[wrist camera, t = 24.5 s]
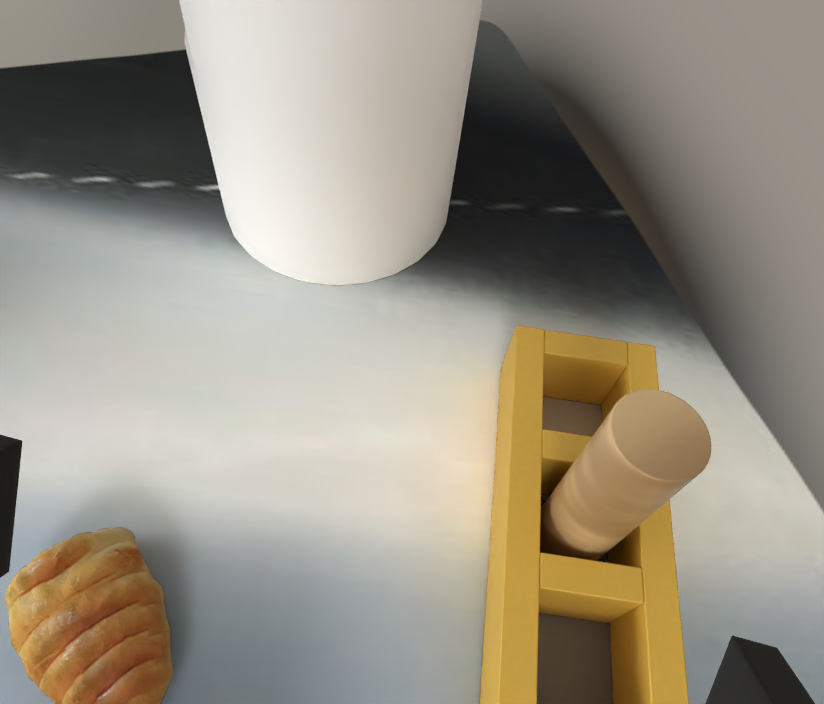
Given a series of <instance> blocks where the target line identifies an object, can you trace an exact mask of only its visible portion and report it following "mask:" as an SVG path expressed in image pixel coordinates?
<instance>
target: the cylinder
mask: <svg viewBox="0 0 824 704" xmlns="http://www.w3.org/2000/svg"><path fill="white" fill-rule="evenodd" d="M179 3H180V7H181V11H182V15H183V20H184V24H185V41H184V42H185V46H186V51H187V55H188V59H189V63H190V68H191V72H192V76H193V80H194V84H195V88H196V93H197V97H198V101H199V105H200V109H201V113H202V118H203V122H204V126H205V130H206V134H207V138H208V143H209V147H210V151H211V155H212V159H213V164H214V168H215V172H216V176H217V180H218V184H219V189H220V193H221V197H222V201H223V205H224V209H225V214H226V217H227V220H228V222H229V225H230V227H231V230H232V232H233V235H234V237H235V238H236V240H237V241H238V242H239V243H240V244H241V245H242V247H243V248H244V249H245V250H246V251H247V252H248V254H249V255H250V256H251V257H253V258H254V259H256V260H258V261H259V262H261V263H262V264H264V265H265V266H267V267H268V268H270V269H271V270H273V271H275V272H277V273H280V274H283V275H286V276H289V277H291V278H294V279H297V280H300V281H303V282H311V283H319V284H327V285H346V284H359V283H367V282H371V281H374V280H378V279H381V278H384V277H388V276H391V275H394V274H396V273H398V272H400V271H402V270H403V269H405V268H407V267H409V266H410V265H412V264H414V263H416V262H417V261H419V260H420V259H421V258H422V257H423V256H424V255H425V254H426V253H427V252H428V251H429V250H430V249H431V248H432V247H433V246H434V245H435V244H436V242H437V240H438V238H439V236H440V234H441V232H442V230H443V228H444V226H445V224H446V220H447V214H448V208H449V202H450V196H451V190H452V184H453V178H454V171H455V165H456V159H457V153H458V147H459V141H460V135H461V129H462V123H463V117H464V110H465V104H466V98H467V92H468V86H469V80H470V74H471V68H472V62H473V55H474V49H475V43H476V37H477V31H478V25H479V19H480V13H481V6H482V0H179Z"/></svg>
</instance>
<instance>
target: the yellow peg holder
mask: <svg viewBox="0 0 824 704" xmlns="http://www.w3.org/2000/svg"><path fill="white" fill-rule="evenodd" d="M645 389H652V390H659V385H658V375H657V364H656V354H655V346H651V345H644V344H637V343H631V342H627V343H626V342H624V341H617V340H610V339H603V338H597V337H590V336H583V335H577V334H570V333H563V332H556V331H550V330H545V331H544V329H538V328H531V327H524V326H516V329H515V331H514V334H513V337H512V340H511V342H510V345H509V348H508V351H507V353H506V356H505V359H504V362H503V364H502V367H501V376H500V392H499V408H498V423H497V439H496V455H495V471H494V487H493V502H492V518H491V534H490V550H489V566H488V581H487V597H486V613H485V629H484V645H483V660H482V676H481V692H480V704H537V669H538V619H539V613H546V614H552V615H559V616H565V617H572V618H579V619H585V620H592V621H598V622H605V623H610V634H611V660H612V687H613V704H689V700H688V690H687V679H686V669H685V658H684V648H683V637H682V627H681V616H680V606H679V595H678V585H677V574H676V564H675V553H674V543H673V532H672V522H671V511H670V501H669V500H668V501H667V502H666V503H665V504H663V505H662V506H661V507H660V508H659V509H657V510H656V511H655V512H654V513H653V514H652V515H650V516H649V517H648V518H647V519H646V520H645V521H643V522H642V523H641V524H640V525H639V526H638V527H636V528H635V529H634V530H633V531H632V532H630V533H629V534H628V535H627V536H626V537H625V538H623V539H622V540H621V541H620V542H619V543H618V544H616V545H615V546H614V547H613V548H612V549H610V550H609V551H608V552H607V555H608V563H607V562H600V561H593V560H587V559H580V558H574V557H567V556H561V555H554V554H548V553H540V519H541V494H545V495H551V493H552V492H553V491H554V489H555V488H556V486H557V485H558V484H559V482H560V481H561V480H562V478H563V477H564V475H565V474H566V473H567V471H568V470H569V468H570V467H571V466H572V464H573V463H574V461H575V460H576V459H577V457H578V456H579V454H580V453H581V452H582V450H583V449H584V447H585V446H586V445H587V443H588V442H589V440H590V439H591V438H592V436H585V435H578V434H572V433H565V432H558V431H552V430H545V429H543V430H542V420H543V396H546V397H552V398H559V399H566V400H572V401H579V402H586V403H592V404H599V405H601V404H602V422H603V421H604V419H605V418H606V417H607V415H608V414H609V413H610V411H611V410H612V408H613V407H614V406H615V404H616V403H617V402H618V401H619V400H620V399H621V398H622V397H623V396H625V395H627V394H629V393H631V392H634V391H638V390H645Z"/></svg>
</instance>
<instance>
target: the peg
mask: <svg viewBox="0 0 824 704" xmlns="http://www.w3.org/2000/svg"><path fill="white" fill-rule="evenodd" d="M710 454H711V439H710V435H709V432H708V429H707V427H706V425H705V423H704V421H703V420H702V418H701V417H700V416H699V414H698V413H697V412H696V411H695V410H694V409H693V408H692V407H691V406H690V405H689V404H687V403H686V402H685V401H683V400H682V399H680V398H678V397H676V396H674V395H672V394H670V393H667V392H664V391H659V390H652V389H645V390H638V391H634V392H631V393H629V394H627V395H625V396H623V397H622V398H621V399H620V400H619V401H618V402H617V403H616V404H615V406H614V407H613V408H612V410H611V411H610V413H609V414H608V415H607V417H606V418H605V419H604V421H603V422H602V424H601V425H600V426H599V428H598V429H597V431H596V432H595V433H594V435H593V436H592V438H591V439H590V440H589V442H588V443H587V445H586V446H585V447H584V449H583V450H582V452H581V453H580V454H579V456H578V457H577V459H576V460H575V461H574V463H573V464H572V466H571V467H570V468H569V470H568V471H567V473H566V474H565V475H564V477H563V478H562V480H561V481H560V482H559V484H558V485H557V486H556V488H555V489H554V491H553V492H552V493H551V495H550V496H549V498H548V499H547V500H546V502H545V503H544V505H543V506H542V507H541V519H540V553H548V554H554V555H561V556H567V557H574V558H580V559H587V560H593V561H598V560H599V559H600V558H601V557H602V556H603V555H605V554H606V553H607V552H608V551H609V550H610V549H612V548H613V547H614V546H615V545H616V544H618V543H619V542H620V541H621V540H622V539H623V538H625V537H626V536H627V535H628V534H629V533H630V532H632V531H633V530H634V529H635V528H636V527H638V526H639V525H640V524H641V523H642V522H643V521H645V520H646V519H647V518H648V517H649V516H650V515H652V514H653V513H654V512H655V511H656V510H657V509H659V508H660V507H661V506H662V505H663V504H665V503H666V502H667V501H668V500H669V499H670V498H672V497H673V496H674V495H675V494H676V493H677V492H679V491H680V490H681V489H682V488H683V487H685V486H686V485H687V484H688V483H689V482H690V481H692V480H693V479H694V478H695V477H696V476H697V475H699V474H700V473H701V472H702V471H703V470H704V468H705V467H706V465H707V464H708V461H709V459H710Z"/></svg>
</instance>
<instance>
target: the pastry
mask: <svg viewBox="0 0 824 704" xmlns="http://www.w3.org/2000/svg"><path fill="white" fill-rule="evenodd" d="M5 603H6V605H7V607H8V611H9V618H10V619H9V629H10V633H11V642H12V645H13V647H14V649H15V650H16V652H17V653H18V655H19V657H20V658H21V660H22V661H23V664H24V667H25V670H26V672H27V675H28V677H29V678H30V679H31V680H32V681H34V682H35V683H36V684H37V686H38V688H39V689H40V690H41V691H42V692H43V693H44V694H46V695H47V696H48V697H50V698H51V699H52V700H53V701H54V703H55V704H161V702H162V700H163V698H164V695H165V693H166V691H167V688H168V686H169V684H170V682H171V679H172V677H173V673H174V670H173V665H172V660H171V651H170V636H171V631H170V629H169V624H168V620H167V617H166V610H165V607H164V592H163V589H162V586H161V585H160V583H158V582H157V581H156V580H155V579H154V578H153V577H152V575H151V572H150V570H149V568H148V566H147V565H146V562H145V561H144V559H143V557H142V555H141V553H140V551H139V549H138V547H137V545H136V541H135V536H134V534H133V532H131V531H130V530H128V529H126V528H122V527H119V528H112V529H109V528H104V529H100V530H98V531H96V532H85V533H81V534H78V535H76V536H73V537H71V538H70V539H67V540H65V541H62V542H60V543H58V544H56V545H54V546H53V547H51V548H49V549H47V550H45V551H43V552H41V553H40V554H38V555H37V556H36V557H35V558H34V559H33V560H32V561H31V562H30V563H29V564H28V565H27V566H25V567H23V568H22V569H21V570H20V571H19V572H18V573H17V574H16V575H15V576H14V578H13V580H12V581H11V582H10V585H9V587H8V590H7V591H6V595H5Z"/></svg>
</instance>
